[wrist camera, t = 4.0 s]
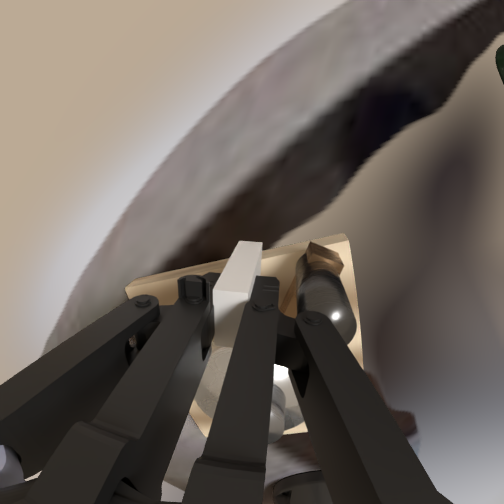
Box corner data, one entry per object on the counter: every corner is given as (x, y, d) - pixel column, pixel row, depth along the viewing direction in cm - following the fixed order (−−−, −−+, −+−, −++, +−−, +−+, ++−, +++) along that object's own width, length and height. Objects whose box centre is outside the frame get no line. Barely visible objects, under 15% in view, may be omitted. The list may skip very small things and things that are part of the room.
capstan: (287, 419, 24) (282, 486, 17) (190, 388, 24) (163, 453, 17) (385, 270, 18) (430, 332, 11) (252, 216, 19) (226, 257, 11)
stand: (361, 408, 26) (364, 422, 24) (209, 424, 29) (204, 438, 27) (343, 232, 20) (349, 241, 18) (135, 278, 24) (123, 289, 22)
